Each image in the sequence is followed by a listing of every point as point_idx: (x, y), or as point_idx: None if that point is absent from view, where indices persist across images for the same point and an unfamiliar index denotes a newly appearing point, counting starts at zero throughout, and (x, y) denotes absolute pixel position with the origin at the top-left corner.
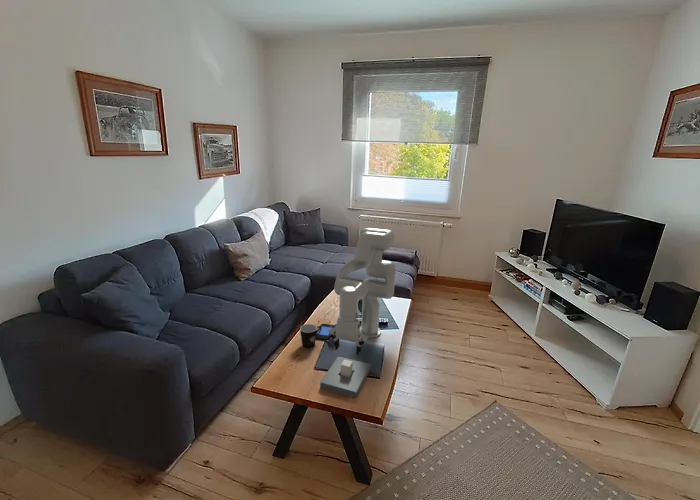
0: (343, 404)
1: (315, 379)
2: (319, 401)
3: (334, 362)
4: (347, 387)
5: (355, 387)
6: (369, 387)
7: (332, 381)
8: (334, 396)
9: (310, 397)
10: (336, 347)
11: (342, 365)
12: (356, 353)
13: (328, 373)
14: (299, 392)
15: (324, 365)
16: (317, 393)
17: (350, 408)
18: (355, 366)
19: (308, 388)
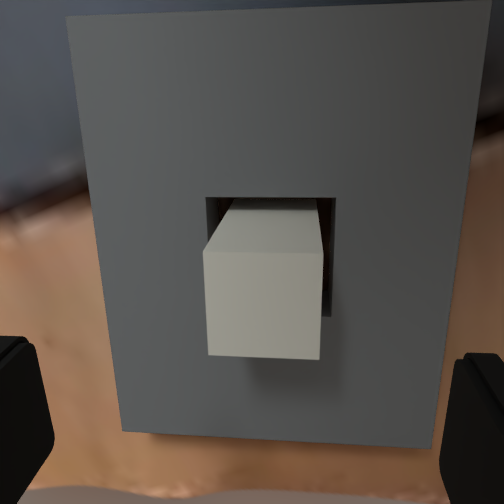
0: (349, 476)
1: (60, 328)
2: (197, 491)
3: (89, 148)
4: (346, 424)
5: (411, 405)
6: (500, 272)
7: (204, 399)
8: None
9: (131, 478)
10: (22, 483)
11: (229, 351)
12: (452, 490)
13: (125, 323)
14: (47, 462)
15: (18, 140)
16: (150, 440)
17: (404, 492)
18: (324, 124)
19: (73, 419)
